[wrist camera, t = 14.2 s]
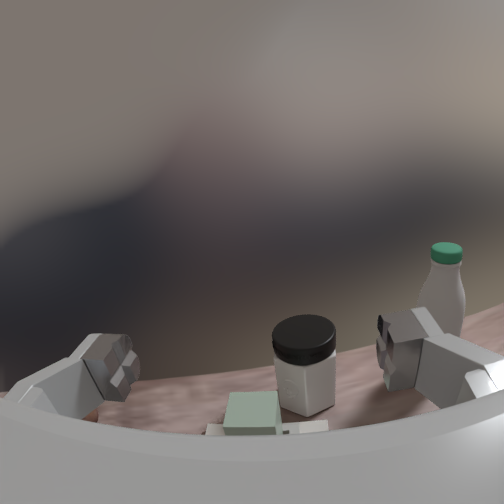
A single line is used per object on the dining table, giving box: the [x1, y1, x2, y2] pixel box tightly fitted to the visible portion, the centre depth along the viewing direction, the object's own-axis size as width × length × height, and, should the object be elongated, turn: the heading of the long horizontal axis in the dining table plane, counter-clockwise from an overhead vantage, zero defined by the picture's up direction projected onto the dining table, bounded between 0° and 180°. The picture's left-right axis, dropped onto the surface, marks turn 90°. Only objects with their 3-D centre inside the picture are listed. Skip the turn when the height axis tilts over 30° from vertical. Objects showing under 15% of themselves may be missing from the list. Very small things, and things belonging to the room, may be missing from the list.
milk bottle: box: [417, 242, 465, 338], centre depth 40 cm, size 8×8×20 cm
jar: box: [272, 315, 336, 417], centre depth 41 cm, size 9×8×12 cm
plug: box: [223, 391, 283, 436], centre depth 31 cm, size 5×5×11 cm
